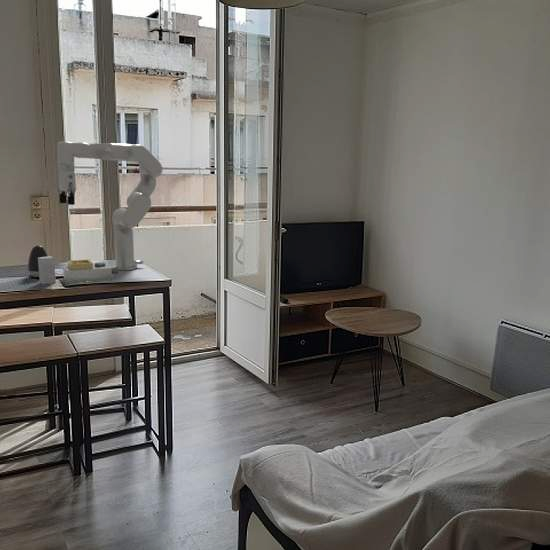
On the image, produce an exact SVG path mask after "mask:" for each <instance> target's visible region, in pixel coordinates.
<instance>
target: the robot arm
mask: <svg viewBox="0 0 550 550" xmlns="http://www.w3.org/2000/svg"><path fill="white" fill-rule="evenodd" d="M56 145H57V149H56V151H57V152H56V153H57V154H56V156H57V171H58V185H57V186H58V192H59V193H58V196H59V203H60V204H67V205H69V206H71V205H72V206H73V205H75V204H76V201H75V200H76V199H75V198H76V197H75V196H76V194H75V193H76V192H77V186H76V185H77V183H76V174H75V158H77V159H94V160H104V161H119V162H137V163H138V164H139V167H138V171H139V174H140V180H139V182H138V183H137V186H136V187H134V189H133V190H132V192H131V193H130V194H129V195H128V196H127V198H126V205H127V208H123V207H121V208H117V209H116V210H114V212H113V214H112V226H113V234H114V256H115V257H114V259H115V262H114V263H115V265H112V267H111V268H117V269H118V271H132V270H136V269H138V265H143V264H144V260H137V259H135V251H134V250H135V249H134V248H135V247H134V231H133V228H136V227H137V226H138V225H139V224H140V223H141V221H142V220H143V218H144V217H145V216H146V215H147V214H148V212H149V210H150V209H151V206H152V198H151V195H152V194H153V193H154V191H155V189H156V185H157V178H158V177H160V176H161V175H162V173H163V166H162V164H161V162H160V161H159V160H158V159H157V158H156V157H155V156H154V155H153V154H152V153H151V152H150V151H149V150H148V148H146V147H145V146H144V145H143V144H138V143H137V144H134V143H133V144H131V143H115V142H104V143H103V142H102V143H90V142H89V143H87V142H84V141H82V142H81V141H80V142H79V141H77V142H71V141H59V142H57V143H56ZM66 193H67V195H66Z"/></svg>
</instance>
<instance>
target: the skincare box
mask: <svg viewBox="0 0 550 550" xmlns="http://www.w3.org/2000/svg"><path fill="white" fill-rule="evenodd" d="M38 266H39V278H38V279H39V284H42V285H47V284H48V285H49V284H55V283H57V280H56V265H55V257H54V256H50V255H48V257H39V258H38Z"/></svg>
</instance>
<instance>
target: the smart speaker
mask: <svg viewBox="0 0 550 550" xmlns="http://www.w3.org/2000/svg"><path fill="white" fill-rule="evenodd" d="M47 253H48V252H47V251H46V249H45V248H44V246H42V245H35V246H33V247H32V249H31V250H30V253H29V257H28V262H27V271H28V272H29V275H30V276H31V277H33V278H36V277H37V276H39V266H38V258H39V257H48V256H49V255H48V254H47Z"/></svg>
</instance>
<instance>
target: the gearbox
mask: <svg viewBox="0 0 550 550" xmlns="http://www.w3.org/2000/svg"><path fill="white" fill-rule="evenodd" d="M62 272H63V274H62V275H63V279H64V281H65V280H66V281H65V282H66V284H67V283H69V284H76V283H75V282H83V283H88V282H87V281H96V282H105V281H104V280H109V281H113V275H118V273H119V270H118V269H117V268H112V267H111V266H110V265H109V264H108V263H107V262H103V261H102V262H95V263H93V261H92V260H91V259H77V260H76V259H75V260H67V264H65V265H62Z"/></svg>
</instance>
